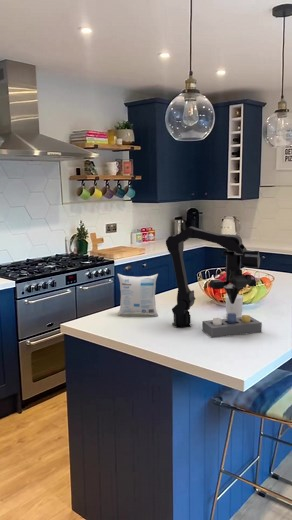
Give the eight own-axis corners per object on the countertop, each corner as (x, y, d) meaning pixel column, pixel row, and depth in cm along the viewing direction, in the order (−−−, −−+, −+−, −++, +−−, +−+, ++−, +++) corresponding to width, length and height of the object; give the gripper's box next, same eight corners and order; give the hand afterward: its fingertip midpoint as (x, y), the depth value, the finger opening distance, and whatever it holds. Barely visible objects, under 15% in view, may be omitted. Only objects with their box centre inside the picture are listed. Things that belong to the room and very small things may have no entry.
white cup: (222, 318, 206) (223, 297, 205) (228, 314, 213) (228, 293, 212) (239, 320, 203) (240, 298, 201) (244, 316, 210) (245, 295, 208)
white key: (215, 330, 184) (215, 320, 183) (211, 327, 187) (211, 318, 187) (223, 329, 185) (223, 319, 184) (219, 326, 188) (219, 317, 188)
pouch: (156, 318, 208) (156, 275, 204) (116, 317, 211) (115, 275, 208) (159, 313, 215) (159, 272, 212) (120, 312, 219) (119, 271, 216)
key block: (212, 337, 181) (212, 328, 180) (202, 330, 190) (202, 321, 189) (261, 332, 186) (261, 322, 186) (249, 325, 196) (249, 316, 195)
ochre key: (244, 327, 187) (244, 317, 187) (239, 324, 191) (240, 315, 190) (251, 326, 188) (252, 317, 188) (247, 323, 192) (247, 314, 191)
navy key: (229, 325, 185) (229, 315, 185) (225, 322, 189) (225, 313, 188) (237, 324, 186) (237, 315, 186) (233, 321, 190) (233, 312, 189)
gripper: (220, 271, 174) (219, 310, 176) (264, 268, 179) (262, 306, 181) (208, 266, 184) (208, 303, 187) (250, 263, 189) (249, 300, 192)
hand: (232, 303), depth 186 cm, fingers closed
